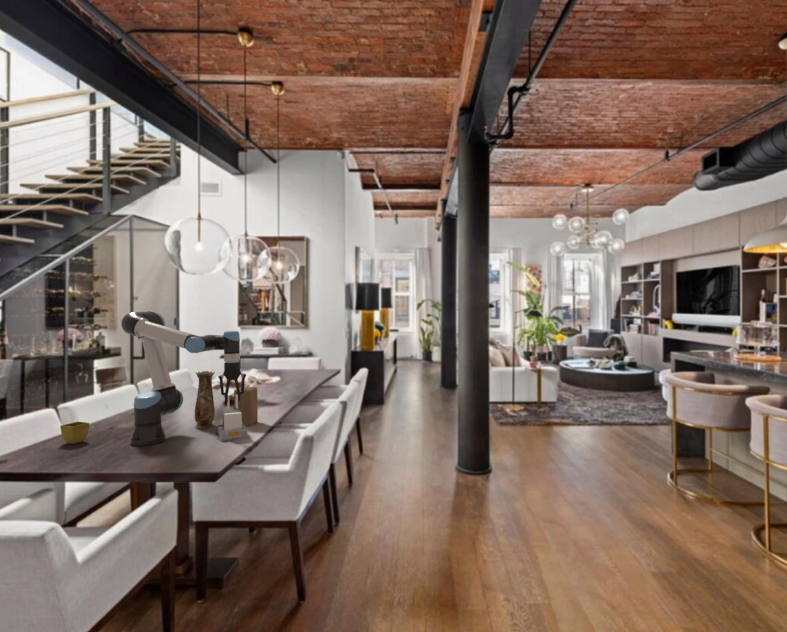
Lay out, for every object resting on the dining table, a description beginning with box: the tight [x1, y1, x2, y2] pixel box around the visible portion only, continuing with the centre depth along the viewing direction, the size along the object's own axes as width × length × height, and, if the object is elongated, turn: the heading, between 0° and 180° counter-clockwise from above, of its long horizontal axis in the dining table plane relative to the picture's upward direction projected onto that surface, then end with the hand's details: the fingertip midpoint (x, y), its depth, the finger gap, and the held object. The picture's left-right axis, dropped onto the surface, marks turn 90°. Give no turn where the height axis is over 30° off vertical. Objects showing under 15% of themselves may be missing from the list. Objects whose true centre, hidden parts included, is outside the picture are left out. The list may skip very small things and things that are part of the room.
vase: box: [194, 370, 216, 429], centre depth 251 cm, size 10×11×30 cm
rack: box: [217, 409, 249, 442], centre depth 233 cm, size 13×16×12 cm
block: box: [233, 386, 259, 427], centre depth 256 cm, size 10×10×20 cm
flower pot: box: [59, 421, 90, 445], centre depth 223 cm, size 9×9×9 cm
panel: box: [224, 412, 242, 430], centre depth 230 cm, size 8×4×11 cm, turn 117°
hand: (232, 408), depth 230 cm, fingers open, 3 cm apart
